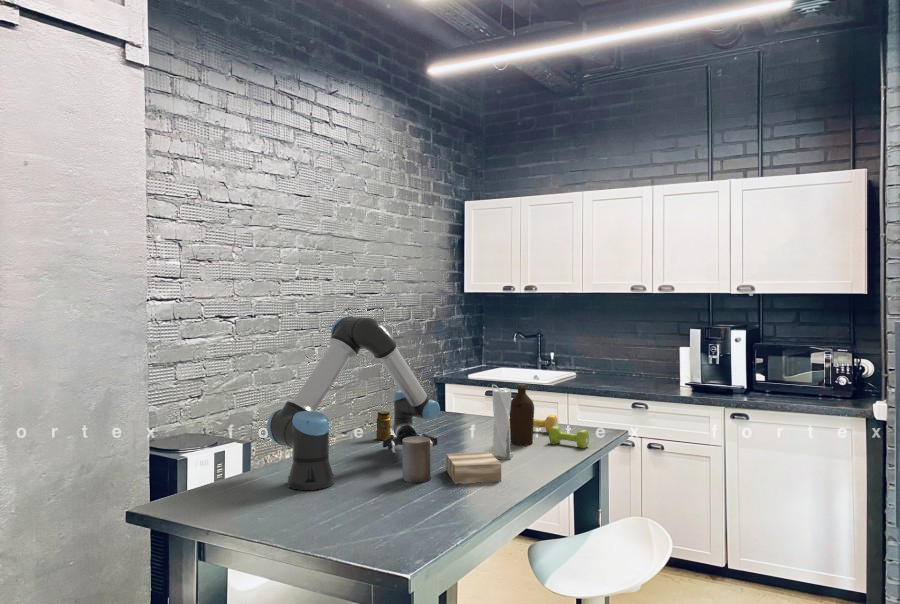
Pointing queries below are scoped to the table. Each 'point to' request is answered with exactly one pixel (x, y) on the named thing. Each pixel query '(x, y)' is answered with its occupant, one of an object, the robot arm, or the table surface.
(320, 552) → the table surface
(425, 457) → the pillar candle
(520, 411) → the olive oil
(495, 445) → the skyscraper
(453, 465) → the oak block
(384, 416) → the condiment
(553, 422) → the dumbbell
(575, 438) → the dumbbell
